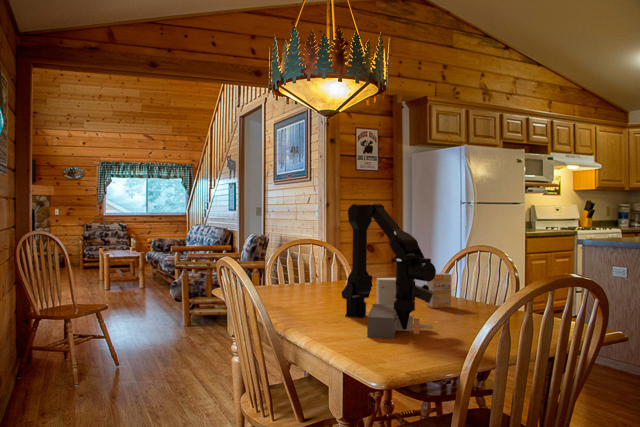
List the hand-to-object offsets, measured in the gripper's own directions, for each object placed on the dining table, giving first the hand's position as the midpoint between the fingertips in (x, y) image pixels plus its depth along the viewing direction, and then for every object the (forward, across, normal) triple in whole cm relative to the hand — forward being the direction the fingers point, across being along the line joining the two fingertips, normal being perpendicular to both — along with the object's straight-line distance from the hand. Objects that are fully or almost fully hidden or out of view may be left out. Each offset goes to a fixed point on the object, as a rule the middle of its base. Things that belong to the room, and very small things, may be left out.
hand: (404, 327), depth 150 cm
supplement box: (+1, +40, -12) cm, 42 cm away
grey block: (+1, 0, +7) cm, 7 cm away
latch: (-2, -9, -4) cm, 10 cm away
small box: (+1, +40, +8) cm, 41 cm away
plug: (+1, 0, -3) cm, 3 cm away
